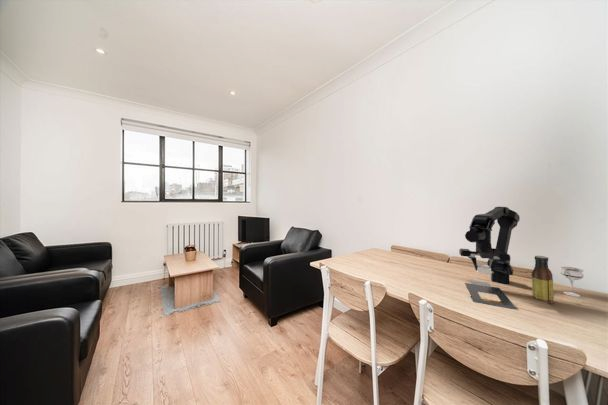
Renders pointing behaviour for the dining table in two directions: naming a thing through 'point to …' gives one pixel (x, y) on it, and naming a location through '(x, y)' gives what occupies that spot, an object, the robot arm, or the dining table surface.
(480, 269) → the clip block
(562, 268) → the wineglass
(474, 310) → the dining table surface
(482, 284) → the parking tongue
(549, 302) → the sauce bottle
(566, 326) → the dining table surface
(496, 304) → the plate
